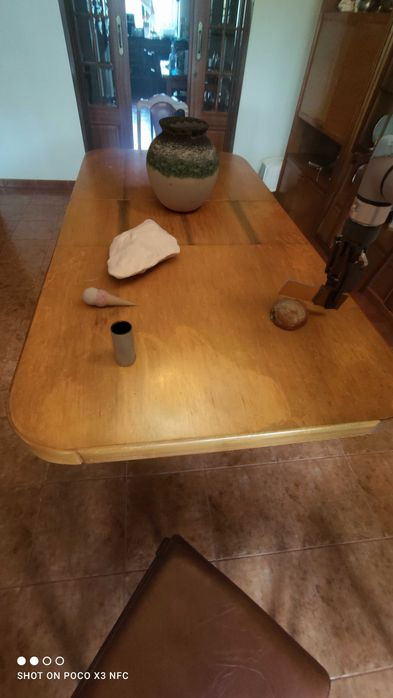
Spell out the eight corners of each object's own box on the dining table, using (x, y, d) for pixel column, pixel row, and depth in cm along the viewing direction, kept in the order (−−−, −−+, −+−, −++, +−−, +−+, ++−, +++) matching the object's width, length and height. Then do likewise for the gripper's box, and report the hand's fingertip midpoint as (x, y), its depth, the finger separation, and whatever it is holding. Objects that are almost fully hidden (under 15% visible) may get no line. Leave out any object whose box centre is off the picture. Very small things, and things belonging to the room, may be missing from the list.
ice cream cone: (139, 301, 91) (85, 290, 87) (141, 294, 87) (84, 282, 83) (136, 316, 90) (81, 306, 86) (138, 310, 85) (80, 298, 82)
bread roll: (267, 318, 93) (261, 301, 87) (298, 302, 93) (295, 283, 86) (283, 341, 87) (279, 324, 81) (317, 324, 86) (315, 305, 80)
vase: (157, 224, 122) (154, 133, 100) (141, 195, 140) (136, 112, 118) (224, 218, 130) (236, 132, 108) (201, 191, 148) (207, 113, 126)
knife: (333, 304, 89) (344, 290, 85) (337, 310, 87) (349, 295, 84) (276, 290, 82) (287, 274, 79) (280, 296, 80) (290, 280, 77)
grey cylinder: (128, 349, 76) (124, 317, 69) (139, 360, 74) (136, 328, 67) (112, 358, 74) (105, 326, 67) (123, 370, 72) (118, 337, 65)
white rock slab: (188, 236, 114) (185, 211, 108) (168, 293, 90) (163, 264, 84) (126, 237, 118) (120, 213, 112) (91, 292, 94) (81, 265, 87)
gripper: (333, 205, 74) (302, 288, 91) (368, 237, 64) (326, 324, 81) (362, 205, 75) (326, 287, 92) (401, 236, 65) (353, 322, 82)
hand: (326, 304), depth 86 cm, fingers closed on knife, 2 cm apart
